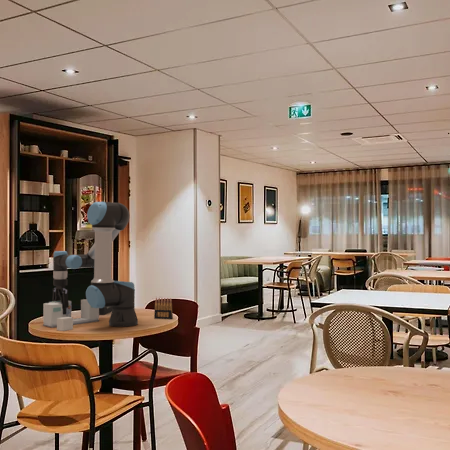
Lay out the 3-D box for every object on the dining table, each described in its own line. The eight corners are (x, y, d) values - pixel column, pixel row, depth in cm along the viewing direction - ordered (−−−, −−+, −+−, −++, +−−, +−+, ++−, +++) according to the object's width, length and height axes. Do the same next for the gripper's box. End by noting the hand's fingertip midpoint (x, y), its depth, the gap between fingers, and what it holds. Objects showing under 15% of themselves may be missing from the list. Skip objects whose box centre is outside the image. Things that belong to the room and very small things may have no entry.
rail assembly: (99, 321, 285) (99, 300, 285) (51, 327, 265) (51, 305, 265) (90, 319, 292) (90, 298, 292) (42, 325, 272) (43, 303, 272)
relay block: (72, 329, 260) (72, 317, 260) (63, 331, 255) (63, 319, 256) (66, 328, 263) (66, 316, 263) (56, 330, 258) (56, 318, 258)
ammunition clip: (154, 318, 293) (154, 297, 293) (155, 318, 295) (155, 297, 295) (171, 319, 290) (171, 298, 290) (172, 318, 292) (172, 297, 292)
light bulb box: (55, 322, 281) (55, 302, 281) (48, 321, 285) (48, 301, 286) (71, 319, 290) (72, 300, 290) (64, 318, 294) (64, 299, 294)
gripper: (75, 279, 284) (75, 320, 283) (58, 277, 298) (57, 316, 297) (62, 279, 278) (62, 322, 278) (45, 277, 292) (45, 318, 292)
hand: (60, 319), depth 288 cm, fingers closed on light bulb box, 7 cm apart
